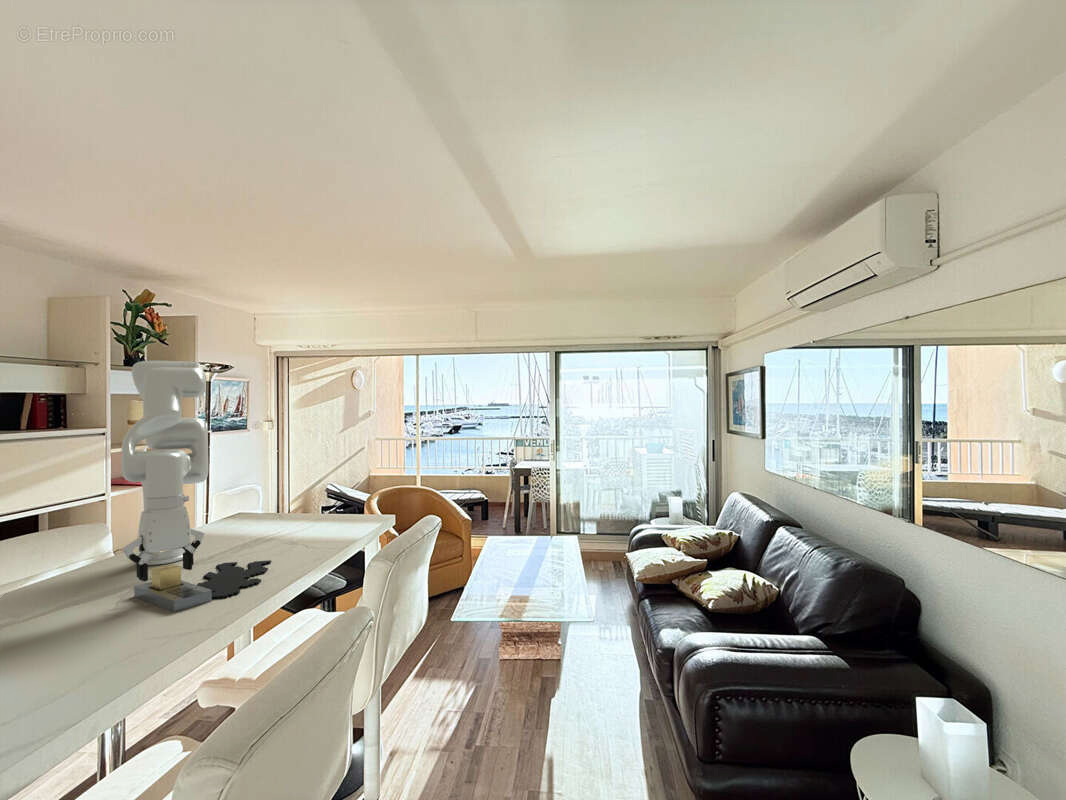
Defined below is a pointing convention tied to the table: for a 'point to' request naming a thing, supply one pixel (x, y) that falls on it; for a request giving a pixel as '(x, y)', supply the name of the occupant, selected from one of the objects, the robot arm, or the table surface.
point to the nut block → (165, 577)
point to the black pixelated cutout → (233, 578)
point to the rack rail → (174, 596)
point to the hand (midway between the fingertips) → (166, 574)
